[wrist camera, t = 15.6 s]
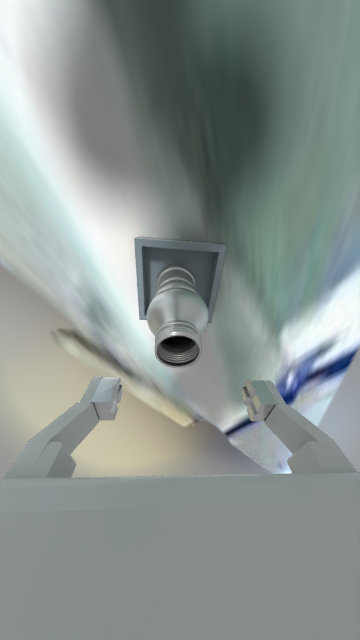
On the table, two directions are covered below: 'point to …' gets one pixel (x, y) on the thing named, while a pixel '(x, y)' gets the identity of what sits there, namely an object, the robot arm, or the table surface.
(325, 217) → the table surface
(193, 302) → the plastic bottle
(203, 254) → the box
